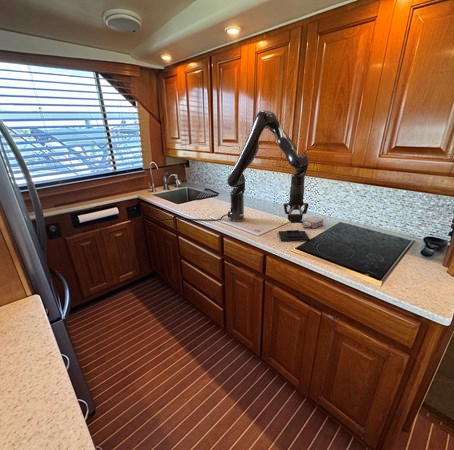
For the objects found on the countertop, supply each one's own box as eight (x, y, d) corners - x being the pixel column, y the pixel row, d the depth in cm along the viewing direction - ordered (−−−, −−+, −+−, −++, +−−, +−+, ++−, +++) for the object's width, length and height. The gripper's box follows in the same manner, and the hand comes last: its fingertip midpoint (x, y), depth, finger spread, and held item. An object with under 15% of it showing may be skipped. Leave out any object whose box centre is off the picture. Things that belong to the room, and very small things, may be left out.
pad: (290, 223, 135) (291, 217, 134) (289, 219, 140) (289, 214, 139) (300, 222, 135) (301, 217, 133) (298, 219, 140) (298, 213, 138)
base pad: (281, 241, 136) (281, 237, 135) (278, 232, 147) (278, 229, 146) (309, 241, 135) (310, 237, 134) (304, 232, 146) (304, 229, 146)
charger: (297, 227, 155) (311, 221, 163) (308, 231, 148) (322, 225, 156) (297, 220, 153) (311, 215, 161) (309, 224, 146) (323, 218, 154)
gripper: (308, 190, 134) (305, 218, 140) (282, 190, 135) (281, 218, 141) (311, 193, 127) (308, 222, 134) (284, 194, 128) (283, 223, 134)
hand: (294, 220), depth 137 cm, fingers closed on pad, 5 cm apart
